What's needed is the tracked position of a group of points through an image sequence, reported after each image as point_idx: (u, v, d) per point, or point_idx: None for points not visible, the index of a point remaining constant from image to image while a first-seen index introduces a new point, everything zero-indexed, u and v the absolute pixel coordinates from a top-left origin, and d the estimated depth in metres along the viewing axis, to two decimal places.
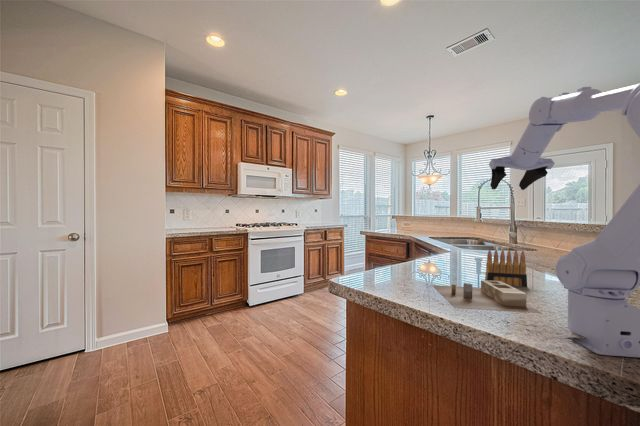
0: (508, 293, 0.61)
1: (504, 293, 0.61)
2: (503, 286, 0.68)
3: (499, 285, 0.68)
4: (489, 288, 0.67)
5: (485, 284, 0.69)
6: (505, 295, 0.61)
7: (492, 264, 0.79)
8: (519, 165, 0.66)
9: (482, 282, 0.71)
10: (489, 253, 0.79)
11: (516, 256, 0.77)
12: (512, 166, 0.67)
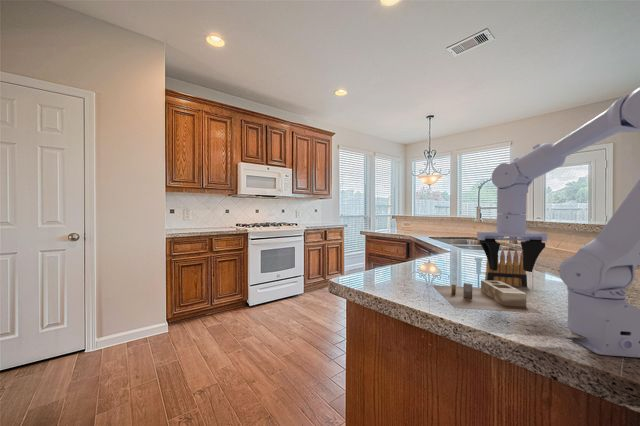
0: (508, 293, 0.61)
1: (504, 293, 0.61)
2: (503, 286, 0.68)
3: (499, 285, 0.68)
4: (489, 288, 0.67)
5: (485, 284, 0.69)
6: (505, 295, 0.61)
7: None
8: (508, 232, 0.60)
9: (482, 282, 0.71)
10: None
11: (516, 256, 0.77)
12: (501, 234, 0.61)
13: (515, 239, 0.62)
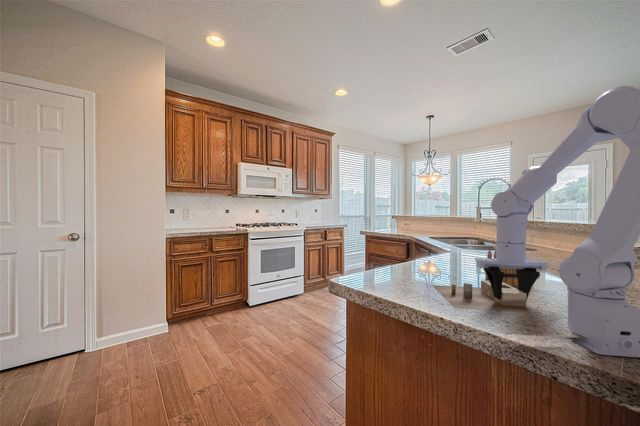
0: (508, 293, 0.61)
1: (504, 293, 0.61)
2: (503, 286, 0.68)
3: None
4: (489, 288, 0.67)
5: (485, 284, 0.69)
6: (505, 295, 0.61)
7: None
8: (508, 261, 0.60)
9: (482, 282, 0.71)
10: (489, 253, 0.79)
11: None
12: (501, 262, 0.61)
13: (515, 267, 0.62)
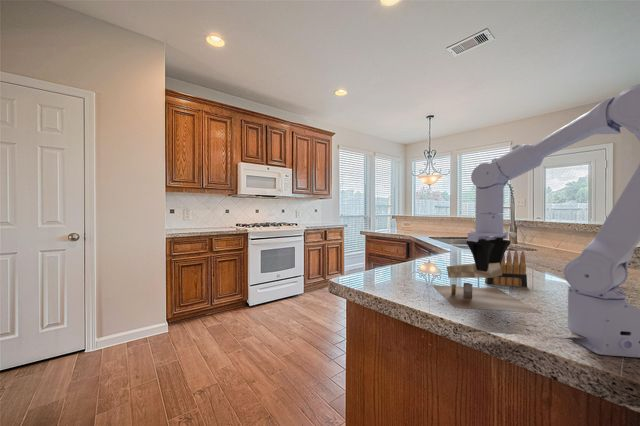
0: (490, 264, 0.62)
1: (489, 265, 0.61)
2: None
3: None
4: (463, 269, 0.66)
5: (455, 268, 0.68)
6: (490, 266, 0.61)
7: None
8: (495, 231, 0.60)
9: (449, 267, 0.69)
10: None
11: (516, 256, 0.77)
12: (491, 234, 0.60)
13: (491, 238, 0.63)
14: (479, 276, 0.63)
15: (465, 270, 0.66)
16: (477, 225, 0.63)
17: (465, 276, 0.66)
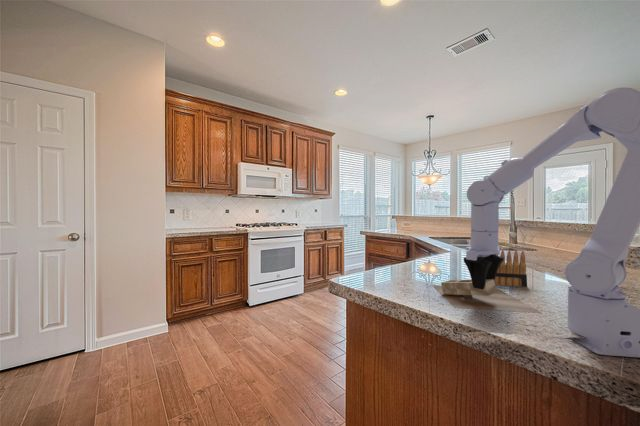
0: (487, 282, 0.62)
1: (486, 283, 0.61)
2: (462, 282, 0.69)
3: (460, 281, 0.68)
4: (459, 286, 0.66)
5: (450, 284, 0.67)
6: (487, 284, 0.61)
7: None
8: (491, 249, 0.60)
9: (444, 284, 0.69)
10: None
11: (516, 256, 0.77)
12: (488, 252, 0.60)
13: (486, 255, 0.64)
14: (476, 294, 0.62)
15: (461, 287, 0.65)
16: (473, 242, 0.63)
17: (461, 293, 0.65)
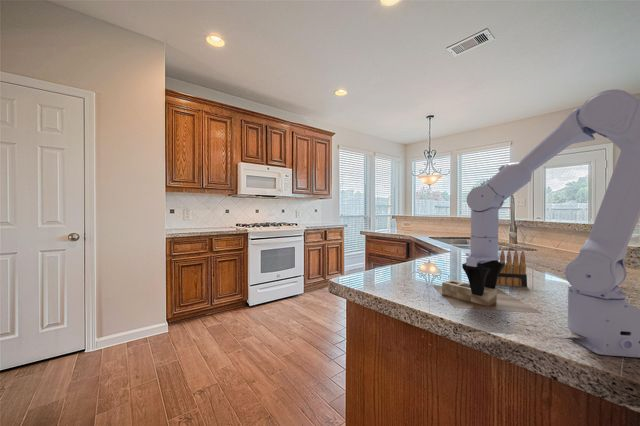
0: (490, 293, 0.61)
1: (488, 294, 0.61)
2: (463, 285, 0.68)
3: (461, 285, 0.68)
4: (460, 290, 0.65)
5: (451, 286, 0.67)
6: (489, 295, 0.61)
7: None
8: (491, 255, 0.60)
9: (445, 284, 0.68)
10: None
11: (516, 256, 0.77)
12: (488, 258, 0.60)
13: (486, 261, 0.64)
14: (475, 301, 0.63)
15: (462, 292, 0.65)
16: (473, 248, 0.63)
17: (460, 297, 0.65)
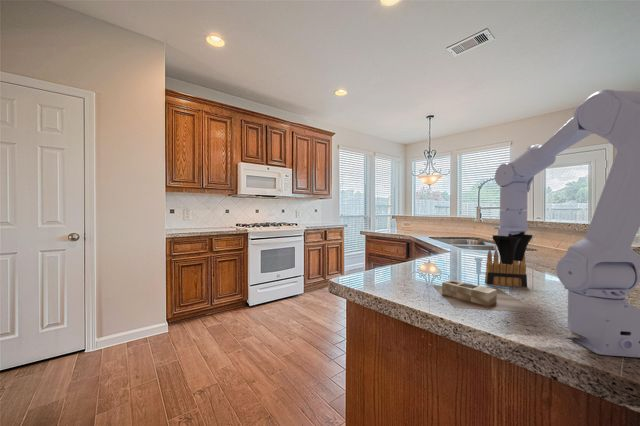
0: (490, 293, 0.61)
1: (488, 294, 0.61)
2: (463, 285, 0.68)
3: (461, 285, 0.68)
4: (460, 290, 0.65)
5: (451, 286, 0.67)
6: (489, 295, 0.61)
7: (492, 264, 0.79)
8: (521, 227, 0.65)
9: (445, 284, 0.68)
10: (489, 253, 0.79)
11: None
12: (518, 229, 0.64)
13: (515, 233, 0.68)
14: (475, 301, 0.63)
15: (462, 292, 0.65)
16: (503, 221, 0.67)
17: (460, 297, 0.65)
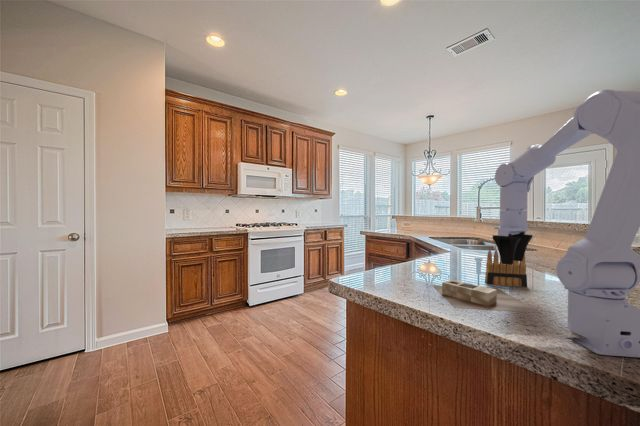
0: (490, 293, 0.61)
1: (488, 294, 0.61)
2: (463, 285, 0.68)
3: (461, 285, 0.68)
4: (460, 290, 0.65)
5: (451, 286, 0.67)
6: (489, 295, 0.61)
7: (492, 264, 0.79)
8: (521, 227, 0.65)
9: (445, 284, 0.68)
10: (489, 253, 0.79)
11: None
12: (518, 229, 0.64)
13: (515, 233, 0.68)
14: (475, 301, 0.63)
15: (462, 292, 0.65)
16: (503, 221, 0.67)
17: (460, 297, 0.65)
